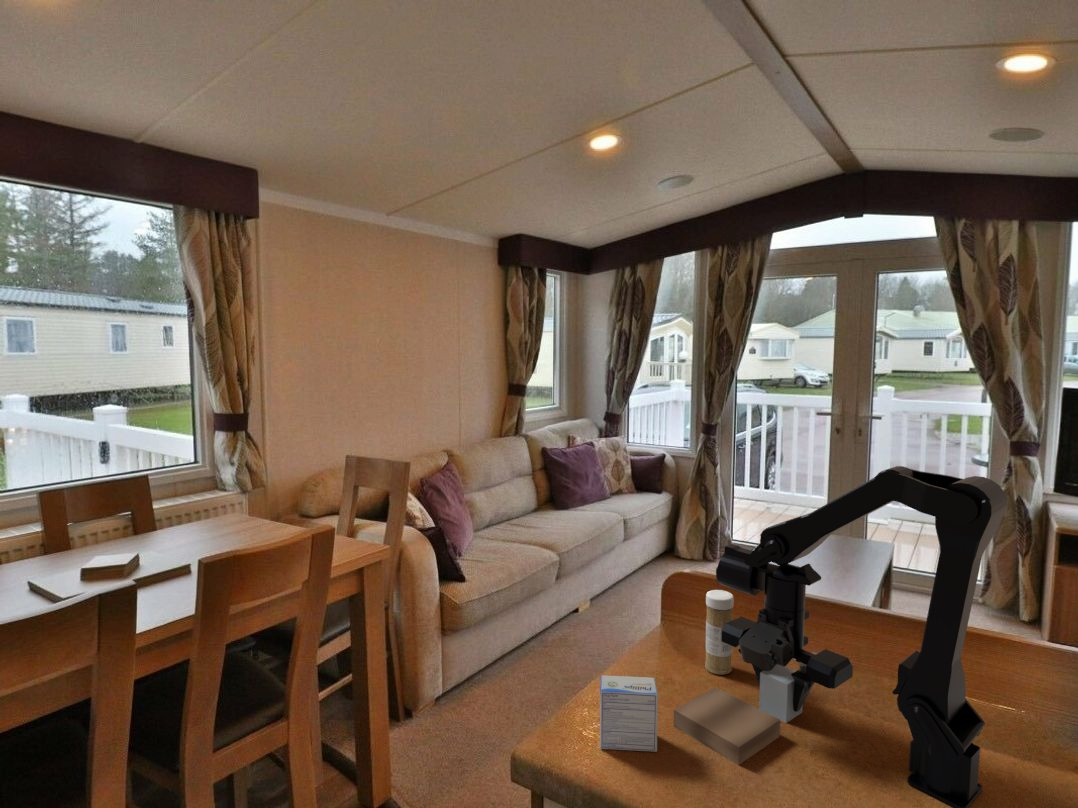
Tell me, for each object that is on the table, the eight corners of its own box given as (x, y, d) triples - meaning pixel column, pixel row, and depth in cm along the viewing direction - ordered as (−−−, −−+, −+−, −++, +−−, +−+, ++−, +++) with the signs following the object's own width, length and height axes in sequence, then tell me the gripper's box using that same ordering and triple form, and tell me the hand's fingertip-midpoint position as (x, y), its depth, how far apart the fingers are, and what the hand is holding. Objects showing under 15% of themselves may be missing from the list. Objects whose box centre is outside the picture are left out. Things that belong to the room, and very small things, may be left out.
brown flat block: (779, 739, 90) (780, 719, 89) (738, 768, 84) (738, 747, 83) (715, 705, 98) (715, 687, 98) (673, 729, 92) (673, 709, 92)
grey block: (802, 712, 96) (803, 674, 95) (786, 723, 93) (787, 684, 92) (775, 699, 99) (776, 663, 99) (759, 709, 96) (760, 672, 96)
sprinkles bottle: (723, 661, 111) (725, 587, 110) (736, 674, 107) (739, 597, 106) (699, 664, 110) (701, 590, 109) (712, 677, 106) (714, 600, 105)
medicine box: (654, 734, 90) (655, 676, 90) (657, 754, 86) (658, 693, 85) (599, 731, 91) (600, 673, 90) (599, 750, 87) (600, 690, 86)
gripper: (700, 598, 97) (697, 694, 98) (816, 642, 82) (811, 755, 84) (742, 581, 104) (740, 671, 105) (856, 620, 89) (852, 724, 90)
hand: (780, 703), depth 96 cm, fingers open, 5 cm apart
